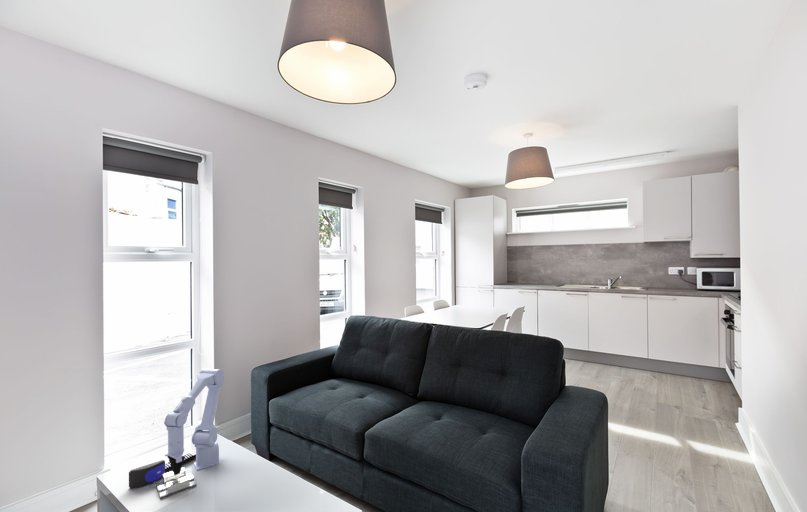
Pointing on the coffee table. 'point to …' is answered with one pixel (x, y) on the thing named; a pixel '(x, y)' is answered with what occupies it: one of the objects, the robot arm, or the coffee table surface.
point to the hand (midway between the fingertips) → (176, 472)
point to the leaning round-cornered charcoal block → (146, 474)
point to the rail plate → (175, 483)
